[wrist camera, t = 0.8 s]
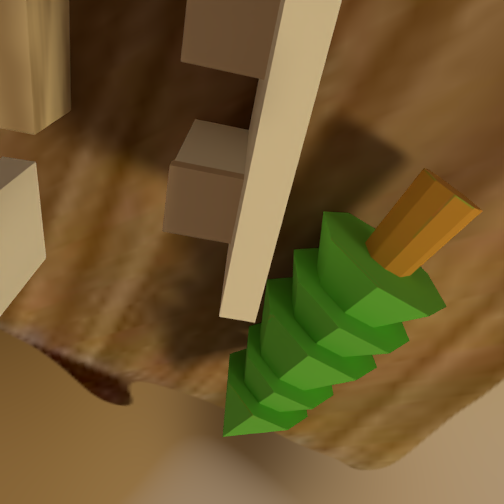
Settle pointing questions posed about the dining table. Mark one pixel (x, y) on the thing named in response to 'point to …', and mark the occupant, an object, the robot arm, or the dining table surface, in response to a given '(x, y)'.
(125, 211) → the dining table surface
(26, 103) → the rail
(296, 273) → the decorative tree
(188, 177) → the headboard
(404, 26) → the dining table surface
